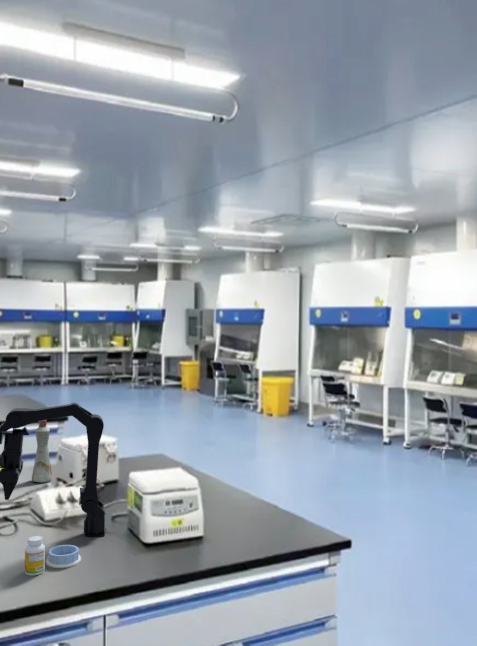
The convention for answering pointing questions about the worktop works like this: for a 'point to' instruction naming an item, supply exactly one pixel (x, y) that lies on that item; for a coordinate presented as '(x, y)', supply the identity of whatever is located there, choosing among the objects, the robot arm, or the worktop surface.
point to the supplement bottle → (34, 556)
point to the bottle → (42, 455)
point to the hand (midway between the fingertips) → (8, 495)
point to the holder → (63, 556)
